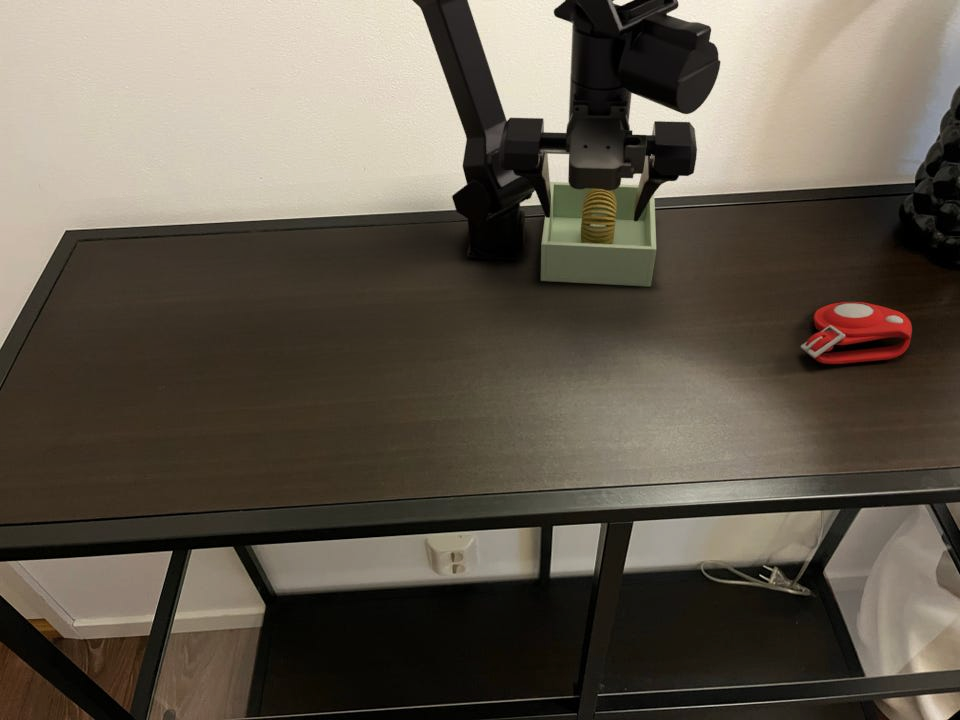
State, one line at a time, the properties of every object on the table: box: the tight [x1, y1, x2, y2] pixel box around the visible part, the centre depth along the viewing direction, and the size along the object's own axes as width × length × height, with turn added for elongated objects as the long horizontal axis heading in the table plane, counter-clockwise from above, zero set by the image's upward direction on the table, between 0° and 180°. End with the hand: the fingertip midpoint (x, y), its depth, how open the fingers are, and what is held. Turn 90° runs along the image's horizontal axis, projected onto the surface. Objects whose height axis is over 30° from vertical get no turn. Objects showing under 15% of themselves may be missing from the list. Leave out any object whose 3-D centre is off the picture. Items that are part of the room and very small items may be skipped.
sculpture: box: [581, 189, 617, 244], centre depth 91 cm, size 8×4×8 cm, turn 170°
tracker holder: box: [800, 301, 913, 365], centre depth 80 cm, size 12×4×10 cm
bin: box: [540, 181, 657, 288], centre depth 93 cm, size 13×13×6 cm
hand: (591, 217), depth 79 cm, fingers open, 9 cm apart
